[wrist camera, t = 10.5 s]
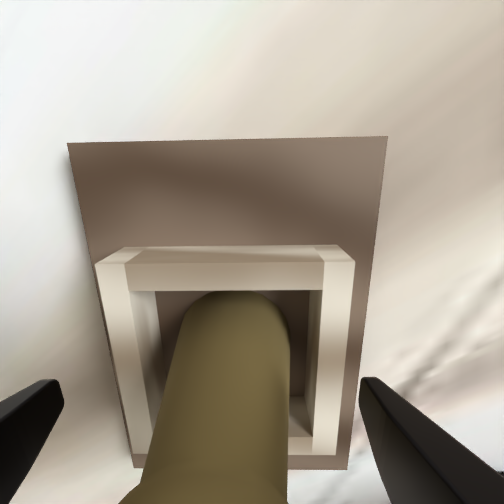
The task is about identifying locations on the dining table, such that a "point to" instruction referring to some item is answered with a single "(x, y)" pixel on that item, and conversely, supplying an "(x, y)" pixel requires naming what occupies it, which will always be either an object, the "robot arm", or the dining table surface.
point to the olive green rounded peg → (223, 407)
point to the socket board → (236, 263)
